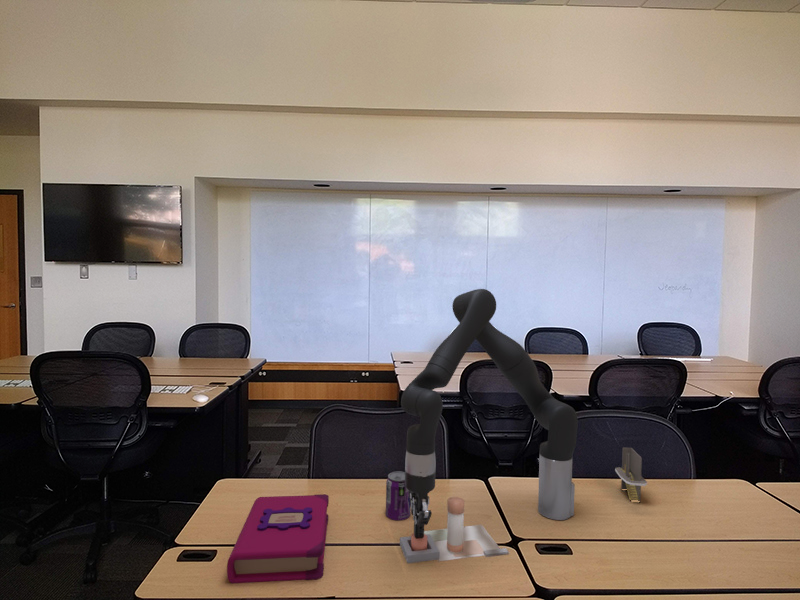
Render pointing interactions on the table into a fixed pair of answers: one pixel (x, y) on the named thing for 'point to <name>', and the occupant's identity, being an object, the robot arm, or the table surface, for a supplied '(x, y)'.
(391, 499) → the beverage can
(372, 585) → the table surface
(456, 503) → the marker
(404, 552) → the button housing
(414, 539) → the button
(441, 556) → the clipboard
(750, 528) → the table surface
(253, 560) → the book
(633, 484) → the architectural model
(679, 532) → the table surface
